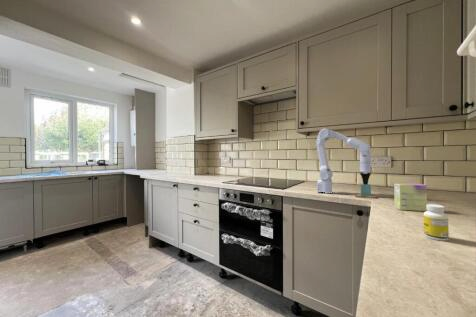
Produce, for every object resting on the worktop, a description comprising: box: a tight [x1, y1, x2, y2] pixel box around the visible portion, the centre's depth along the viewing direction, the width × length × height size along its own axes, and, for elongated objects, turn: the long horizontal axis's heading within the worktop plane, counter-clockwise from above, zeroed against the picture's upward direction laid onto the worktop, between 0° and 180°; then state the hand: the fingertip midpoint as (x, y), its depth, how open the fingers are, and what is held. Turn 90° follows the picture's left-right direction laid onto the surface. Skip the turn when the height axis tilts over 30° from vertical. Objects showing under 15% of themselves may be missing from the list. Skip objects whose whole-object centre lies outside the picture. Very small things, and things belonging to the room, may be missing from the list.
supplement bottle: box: [423, 203, 450, 242], centre depth 62 cm, size 5×5×10 cm
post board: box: [354, 192, 378, 200], centre depth 126 cm, size 11×11×5 cm
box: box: [393, 182, 428, 212], centre depth 94 cm, size 10×6×12 cm, turn 74°
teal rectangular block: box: [360, 183, 372, 196], centre depth 126 cm, size 5×5×7 cm
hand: (365, 184), depth 126 cm, fingers closed, pressing on teal rectangular block
